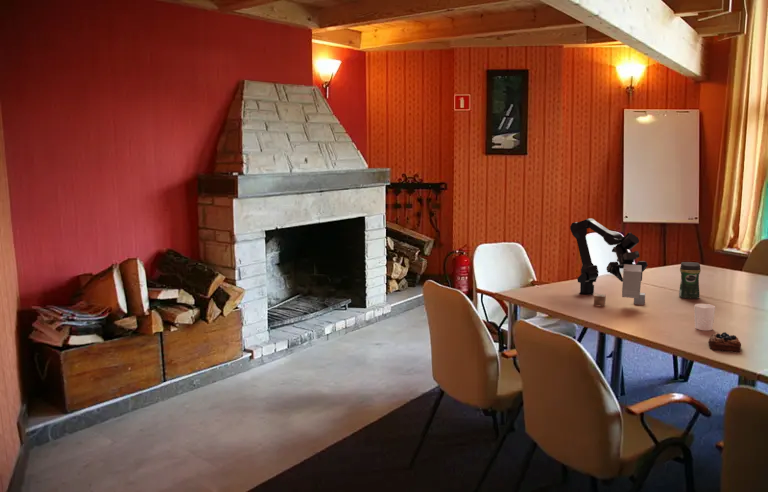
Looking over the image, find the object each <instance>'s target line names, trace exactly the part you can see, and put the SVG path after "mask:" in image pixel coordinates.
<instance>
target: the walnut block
mask: <svg viewBox="0 0 768 492" xmlns="http://www.w3.org/2000/svg"><path fill="white" fill-rule="evenodd" d="M594 305H601V306H600V307H605V306H606V294H603V293H602V294H601V293H600V294H599V293H595V294H593V306H594Z"/></svg>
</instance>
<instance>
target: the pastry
mask: <svg viewBox="0 0 768 492" xmlns="http://www.w3.org/2000/svg"><path fill="white" fill-rule="evenodd" d="M708 345H709V349H710V350H712V351H716V352H717V351H718V352H725V353H740V352H741V350H742V343H741V341H740V340H739V337H737V336H736V335H734V334H733V335H731V334H729V333H727V332H726V331H725V332H722V333H716V334H714V333H713V334H712V335H711V336H710V337H709V339H708Z"/></svg>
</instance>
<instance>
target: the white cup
mask: <svg viewBox="0 0 768 492" xmlns="http://www.w3.org/2000/svg"><path fill="white" fill-rule="evenodd" d="M715 313H716V306H715V305H713V304H709V303H695V304H694V316H693V317H694V328H695V329H696V330H700V331H708V332H709V331H712V330H713V329H714V328H713V327H714V320H715Z"/></svg>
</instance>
